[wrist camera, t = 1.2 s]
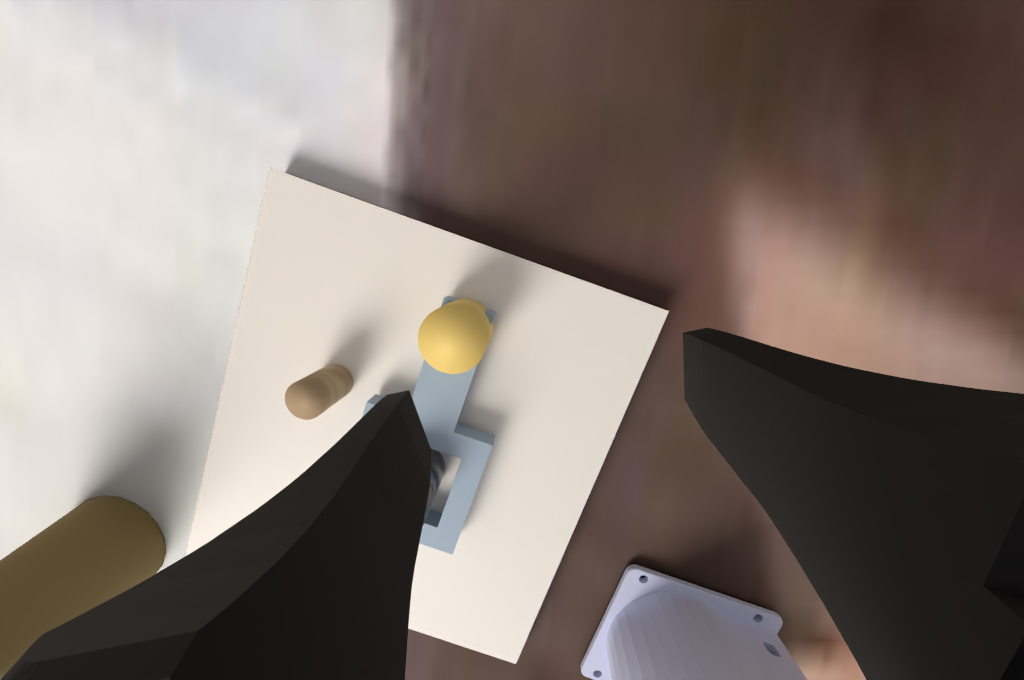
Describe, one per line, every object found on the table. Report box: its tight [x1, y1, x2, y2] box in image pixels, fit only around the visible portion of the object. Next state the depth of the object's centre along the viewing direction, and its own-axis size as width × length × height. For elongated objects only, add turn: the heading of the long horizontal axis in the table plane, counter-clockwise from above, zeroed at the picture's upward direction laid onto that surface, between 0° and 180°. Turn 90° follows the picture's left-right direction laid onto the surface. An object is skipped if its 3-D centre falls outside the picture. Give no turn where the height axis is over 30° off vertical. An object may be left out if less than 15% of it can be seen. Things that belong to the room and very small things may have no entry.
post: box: [423, 449, 445, 525], centre depth 21 cm, size 3×3×5 cm
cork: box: [0, 496, 166, 679], centre depth 20 cm, size 6×6×11 cm
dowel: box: [285, 364, 353, 420], centre depth 20 cm, size 2×2×4 cm
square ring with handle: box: [362, 296, 496, 555], centre depth 19 cm, size 13×6×3 cm, turn 161°
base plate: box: [186, 167, 669, 664], centre depth 22 cm, size 20×22×1 cm
